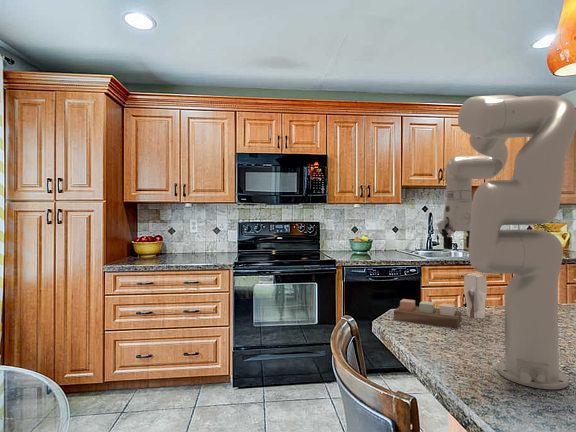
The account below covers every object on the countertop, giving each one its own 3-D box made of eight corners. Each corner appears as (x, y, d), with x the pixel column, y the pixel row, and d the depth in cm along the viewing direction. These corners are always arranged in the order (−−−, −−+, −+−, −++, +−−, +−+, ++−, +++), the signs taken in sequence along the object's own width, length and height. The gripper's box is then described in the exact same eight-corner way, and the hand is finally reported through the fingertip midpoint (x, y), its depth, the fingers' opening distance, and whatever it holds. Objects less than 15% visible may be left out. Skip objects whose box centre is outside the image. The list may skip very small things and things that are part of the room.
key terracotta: (412, 312, 117) (412, 302, 117) (400, 310, 119) (400, 301, 119) (415, 309, 120) (415, 300, 120) (403, 308, 122) (403, 299, 122)
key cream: (453, 317, 110) (453, 307, 110) (439, 315, 112) (439, 305, 112) (455, 314, 113) (455, 304, 113) (441, 313, 116) (441, 303, 116)
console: (457, 332, 107) (457, 318, 107) (393, 322, 117) (393, 310, 117) (461, 323, 115) (461, 311, 115) (401, 315, 125) (401, 304, 125)
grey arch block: (488, 317, 122) (487, 274, 122) (486, 322, 116) (486, 277, 116) (465, 315, 126) (464, 272, 126) (463, 319, 120) (462, 275, 120)
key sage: (432, 314, 113) (432, 304, 113) (419, 313, 115) (419, 303, 115) (434, 312, 117) (434, 302, 117) (422, 310, 119) (421, 301, 119)
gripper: (446, 196, 111) (447, 250, 111) (488, 196, 117) (489, 248, 117) (429, 197, 118) (430, 248, 118) (469, 197, 124) (470, 246, 124)
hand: (459, 248), depth 118 cm, fingers open, 9 cm apart
